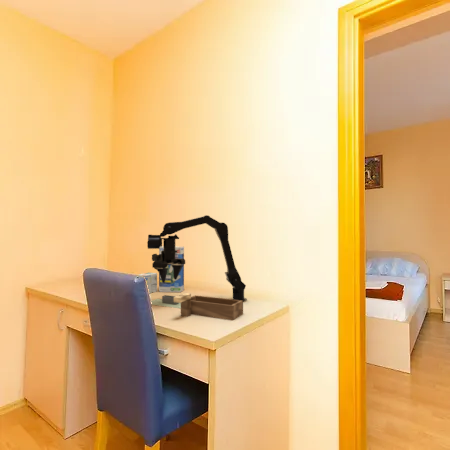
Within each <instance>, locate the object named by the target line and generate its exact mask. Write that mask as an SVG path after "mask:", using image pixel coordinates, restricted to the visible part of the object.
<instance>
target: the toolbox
mask: <svg viewBox="0 0 450 450" xmlns="http://www.w3.org/2000/svg"><path fill="white" fill-rule="evenodd" d="M243 314H244V301H242V300H233V298H223V297H216V296H215V297H214V296H205V295H191V299H189V300H186V301H183V302H181V309H180V317H190V316H192V315H195V316H202V317H208V318H216V319H223V320H228V321H229V320H230V321H233V320H236V319H237V318H239V317H240V316H242V315H243Z"/></svg>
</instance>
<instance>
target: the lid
mask: <svg viewBox="0 0 450 450" xmlns="http://www.w3.org/2000/svg"><path fill="white" fill-rule="evenodd" d="M174 297H175V295H167V294H166V295H165V294H164V295H161V298H156V299H152V300H150V301H151V302H152V305H151V306H158V307H167V308H173V309H180V310H181V303H177V302H174Z"/></svg>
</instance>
